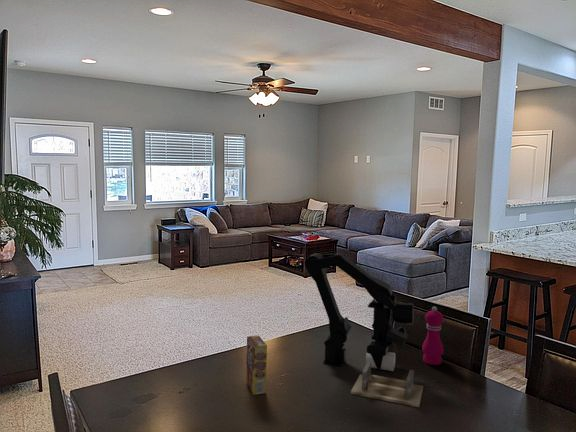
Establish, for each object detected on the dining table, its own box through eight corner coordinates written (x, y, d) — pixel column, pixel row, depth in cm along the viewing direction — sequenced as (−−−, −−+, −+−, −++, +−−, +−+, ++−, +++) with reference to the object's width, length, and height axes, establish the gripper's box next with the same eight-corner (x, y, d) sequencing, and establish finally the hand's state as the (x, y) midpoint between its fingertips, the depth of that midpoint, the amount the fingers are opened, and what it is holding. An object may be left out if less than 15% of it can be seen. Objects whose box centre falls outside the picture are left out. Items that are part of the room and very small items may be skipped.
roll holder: (350, 393, 136) (351, 373, 136) (359, 376, 147) (360, 357, 147) (419, 407, 129) (419, 385, 128) (423, 388, 140) (424, 368, 139)
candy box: (267, 393, 136) (267, 345, 134) (253, 395, 134) (253, 346, 133) (259, 380, 144) (259, 334, 143) (246, 382, 143) (245, 336, 141)
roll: (365, 369, 153) (365, 352, 152) (369, 362, 158) (369, 346, 157) (392, 374, 149) (392, 357, 149) (395, 367, 155) (395, 350, 154)
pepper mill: (440, 357, 163) (442, 303, 161) (445, 366, 156) (447, 310, 154) (419, 356, 164) (422, 303, 161) (423, 365, 156) (426, 309, 154)
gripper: (402, 333, 140) (400, 381, 142) (409, 315, 157) (408, 358, 159) (366, 328, 144) (365, 374, 146) (378, 311, 162) (376, 353, 163)
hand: (380, 364), depth 154 cm, fingers closed on roll, 6 cm apart
